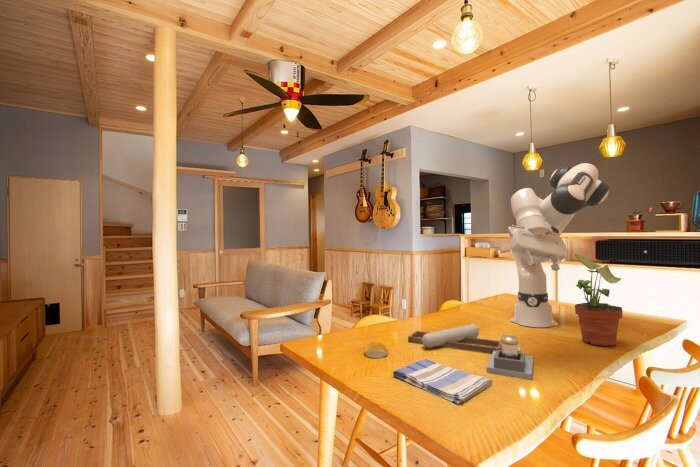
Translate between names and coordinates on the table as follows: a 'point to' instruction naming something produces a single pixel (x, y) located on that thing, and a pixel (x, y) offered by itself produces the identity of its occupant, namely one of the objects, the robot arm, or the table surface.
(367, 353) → the bread roll
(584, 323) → the potted plant
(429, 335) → the tube
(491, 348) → the tube tray
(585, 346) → the table surface
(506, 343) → the clear cylindrical piece
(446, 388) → the dish towel
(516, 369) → the plate
